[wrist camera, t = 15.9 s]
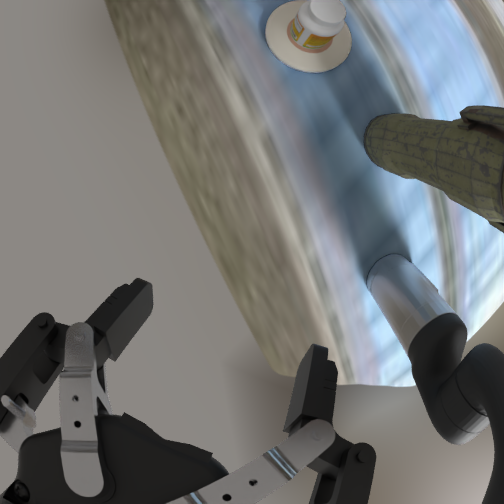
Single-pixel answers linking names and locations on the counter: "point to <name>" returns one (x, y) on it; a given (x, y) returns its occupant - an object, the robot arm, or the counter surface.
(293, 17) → the coaster
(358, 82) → the counter surface
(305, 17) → the supplement bottle
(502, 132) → the thermos
